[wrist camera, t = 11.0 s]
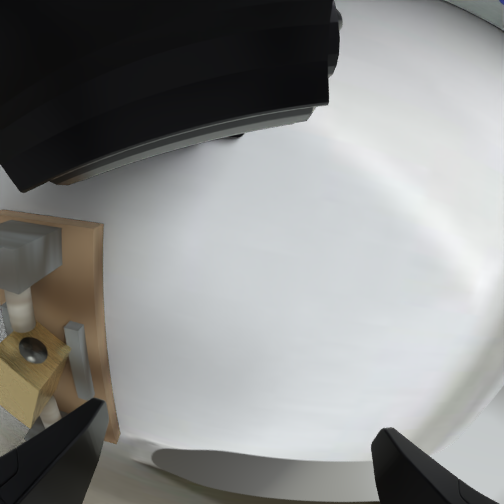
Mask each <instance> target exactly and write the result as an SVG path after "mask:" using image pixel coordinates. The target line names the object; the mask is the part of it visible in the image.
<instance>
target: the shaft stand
mask: <svg viewBox="0 0 504 504" xmlns="http://www.w3.org/2000/svg"><path fill="white" fill-rule="evenodd" d="M103 226H104V224H101V223H94V222H87V221H80V220H73V219H66V218H59V217H52V216H45V215H38V214H31V213H24V212H16V211H9V210H0V304H1V306H0V307H1V312H2V316H3V321H4V325H5V329H6V333H7V336H8V335H9V334H11V333H12V332H13V331H15V332H18V333H25V332H29V331H31V330H33V329H34V328H35V326H36V321H37V322H38V323H40V324H41V325H42V326H43V327H45V328H46V329H47V330H48V331H50V332H51V333H52V334H53V335H55V336H56V337H57V338H58V339H60V340H61V341H62V342H64V343H65V344H66V345H68V346H69V347H70V348H71V351H70V354H69V356H68V359H67V361H66V364H65V367H64V369H63V372H62V375H61V377H60V380H59V383H58V386H57V389H56V391H55V392H54V394H53V395H52V397H51V398H50V400H49V401H48V403H47V404H46V406H45V407H44V409H43V410H42V412H41V414H40V415H39V417H38V418H37V420H36V421H35V423H34V424H33V426H32V428H31V429H29V431H28V433H27V434H26V436H25V438H24V439H25V440H26V441H27V440H29V439H30V438H32V437H34V436H35V435H37V434H38V433H40V432H41V431H43V430H44V429H46V428H47V427H49V426H51V425H52V424H54V423H55V422H57V421H58V420H60V419H61V418H63V417H64V416H66V415H67V414H69V413H70V412H72V411H73V410H75V409H76V408H78V407H79V406H81V405H82V404H84V403H85V402H87V401H88V400H90V399H91V398H93V397H95V398H99V399H102V400H105V401H106V404H107V409H108V414H109V423H108V427H107V430H106V434H105V438H104V441H107V442H110V443H114V444H117V442H118V439H119V436H120V429H119V424H118V419H117V414H116V409H115V403H114V397H113V391H112V384H111V377H110V370H109V362H108V353H107V343H106V331H105V317H104V299H103ZM35 320H36V321H35Z"/></svg>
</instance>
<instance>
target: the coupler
mask: <svg viewBox="0 0 504 504" xmlns="http://www.w3.org/2000/svg"><path fill="white" fill-rule="evenodd" d="M35 321H36V320H35ZM70 351H71V348H70V347H69V346H68V345H66V344H65V343H64V342H62V341H61V340H60V339H58V338H57V337H56V336H55V335H53V334H52V333H51V332H50V331H48V330H47V329H46V328H45V327H43V326H42V325H41V324H40V323H38V322H37V321H36V326H35V328H34V329H33V330H31V331H29V332H25V333H18V332H15V331H13V332H12V333H11V334H9V335H8V336H7V337H6V338H5V339H4V340H3V341H2V342H1V343H0V405H1V406H2V407H3V408H5V409H6V410H7V411H8V412H9V413H11V414H12V415H13V416H14V417H16V418H17V419H18V420H19V421H21V422H22V423H23V424H25V425H26V426H27V427H29V428H30V429H31V428H32V426H33V424H34V423H35V421H36V420H37V418H38V417H39V415H40V414H41V412H42V410H43V409H44V407H45V406H46V404H47V403H48V401H49V400H50V398H51V397H52V395H53V394H54V392H55V391H56V389H57V386H58V383H59V380H60V377H61V375H62V372H63V369H64V367H65V364H66V361H67V359H68V356H69V354H70Z"/></svg>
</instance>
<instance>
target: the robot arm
mask: <svg viewBox="0 0 504 504" xmlns="http://www.w3.org/2000/svg"><path fill="white" fill-rule="evenodd" d="M341 28H342V16H341V14H340V12H339V11H338V10H337V9H336V6H335V3H334V0H0V165H1V166H2V167H3V169H4V170H5V171H6V173H7V174H8V176H9V177H10V179H11V180H12V181H13V183H14V184H15V185H16V187H17V188H18V189H19V191H20V192H22V193H25V192H27V191H29V190H32V189H34V188H36V187H38V186H40V185H42V184H44V183H46V182H49V181H50V182H52V183H54V184H56V185H70V184H73V183H75V182H78V181H82V180H85V179H88V178H90V177H93V176H96V175H98V174H101V173H104V172H107V171H110V170H112V169H115V168H118V167H121V166H124V165H127V164H130V163H133V162H136V161H139V160H143V159H146V158H149V157H152V156H156V155H159V154H162V153H166V152H169V151H173V150H176V149H180V148H184V147H187V146H191V145H195V144H199V143H203V142H207V141H211V140H215V139H219V138H224V137H230V138H240V137H242V136H243V135H244V133H247V132H252V131H257V130H262V129H267V128H273V127H278V126H284V125H290V124H294V123H297V122H303V121H307V120H308V118H309V117H310V116H311V114H312V113H313V111H314V110H315V108H316V107H318V106H326V105H328V103H329V84H328V78H329V77H330V76H331V75H332V74H333V72H334V70H335V68H336V65H337V60H338V56H339V42H340V36H339V31H340V29H341ZM108 423H109V414H108V409H107V404H106V401H105V400H102V399H99V398H95V397H93V398H91V399H90V400H88V401H87V402H85V403H84V404H82V405H81V406H79V407H78V408H76V409H75V410H73V411H72V412H70V413H69V414H67V415H66V416H64V417H63V418H61V419H60V420H58V421H57V422H55V423H54V424H52V425H51V426H49V427H47V428H46V429H44V430H43V431H41V432H40V433H38V434H37V435H35V436H34V437H32V438H30V439H29V440H27V441H26V442H24V443H23V444H21V445H19V446H18V447H17V448H15V449H13V450H11V451H10V452H8V453H6V454H5V455H3V456H1V457H0V504H82V503H83V500H84V497H85V495H86V492H87V489H88V487H89V484H90V482H91V479H92V476H93V474H94V471H95V469H96V466H97V463H98V461H99V457H100V453H101V449H102V445H103V441H104V438H105V434H106V430H107V427H108ZM371 452H372V459H373V466H374V475H375V482H376V487H377V491H378V496H379V500H380V504H499V503H497V502H495V501H493V500H491V499H490V498H488V497H486V496H484V495H483V494H481V493H479V492H478V491H476V490H474V489H473V488H471V487H470V486H468V485H467V484H466V483H464V482H463V481H461V480H460V479H458V478H457V477H456V476H455V475H453V474H452V473H450V472H449V471H448V470H447V469H445V468H444V467H443V466H441V465H440V464H439V463H437V462H436V461H435V460H434V459H432V458H431V457H430V456H428V455H427V454H426V453H424V452H423V451H422V450H421V449H419V448H418V447H417V446H416V445H414V444H413V443H412V442H410V441H409V440H408V439H407V438H405V437H404V436H403V435H402V434H400V433H399V432H398V431H397V430H395V429H394V428H392V427H390V428H383V429H381V430H380V431H379V433H378V434H377V436H376V437H375V439H374V440H373V442H372V444H371Z"/></svg>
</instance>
